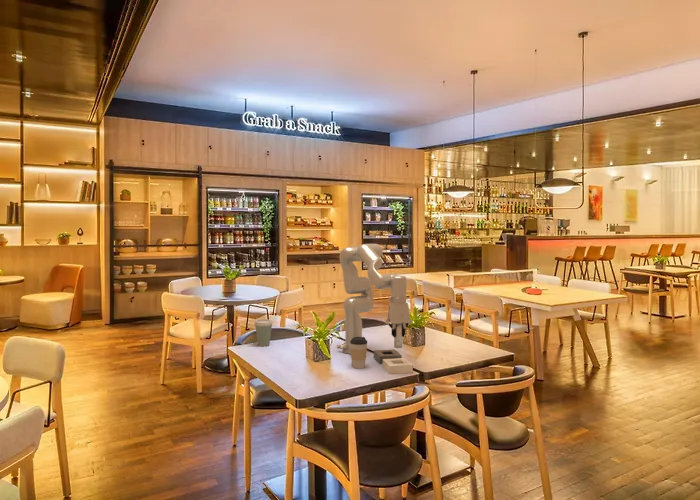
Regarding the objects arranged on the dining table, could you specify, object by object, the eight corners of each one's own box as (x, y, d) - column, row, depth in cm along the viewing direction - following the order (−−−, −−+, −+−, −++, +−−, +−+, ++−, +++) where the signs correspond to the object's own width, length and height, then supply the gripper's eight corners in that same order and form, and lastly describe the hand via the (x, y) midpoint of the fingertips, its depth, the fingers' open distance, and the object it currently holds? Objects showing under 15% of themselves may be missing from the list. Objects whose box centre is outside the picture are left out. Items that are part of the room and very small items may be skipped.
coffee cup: (354, 370, 245) (355, 340, 244) (346, 365, 253) (346, 336, 252) (370, 367, 249) (370, 338, 248) (361, 363, 257) (362, 334, 256)
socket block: (389, 374, 239) (389, 366, 239) (382, 366, 251) (382, 359, 251) (412, 372, 242) (412, 364, 242) (404, 365, 254) (404, 357, 253)
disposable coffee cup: (276, 344, 292) (276, 319, 292) (263, 348, 283) (263, 323, 282) (263, 342, 298) (263, 317, 297) (250, 345, 289) (250, 320, 288)
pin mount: (379, 364, 256) (379, 356, 256) (373, 357, 267) (373, 350, 267) (401, 362, 258) (401, 355, 258) (394, 356, 270) (394, 349, 270)
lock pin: (395, 348, 243) (395, 324, 242) (393, 346, 247) (393, 323, 246) (403, 348, 244) (403, 324, 243) (400, 346, 248) (400, 322, 247)
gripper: (384, 301, 239) (384, 339, 240) (417, 300, 242) (416, 337, 243) (380, 299, 246) (380, 335, 247) (411, 298, 250) (411, 334, 251)
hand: (398, 336), depth 245 cm, fingers closed on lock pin, 4 cm apart
